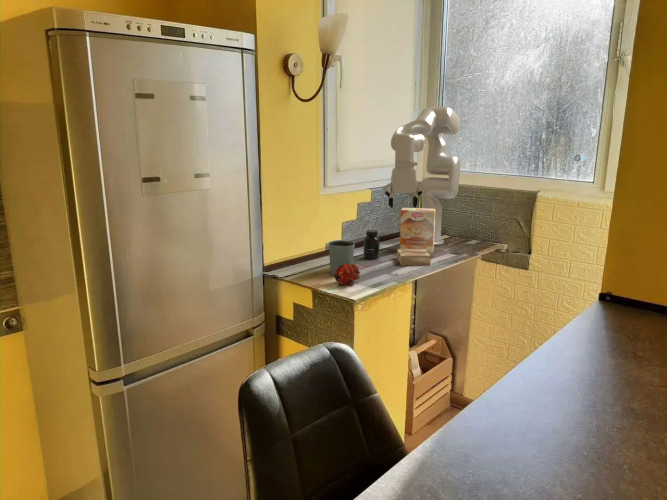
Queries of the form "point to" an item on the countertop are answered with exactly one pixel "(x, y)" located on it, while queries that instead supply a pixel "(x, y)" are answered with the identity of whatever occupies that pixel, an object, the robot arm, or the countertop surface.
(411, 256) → the base
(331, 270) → the grey-green cup
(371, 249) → the supplement bottle
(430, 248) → the coffeecake box
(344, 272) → the dragon fruit
